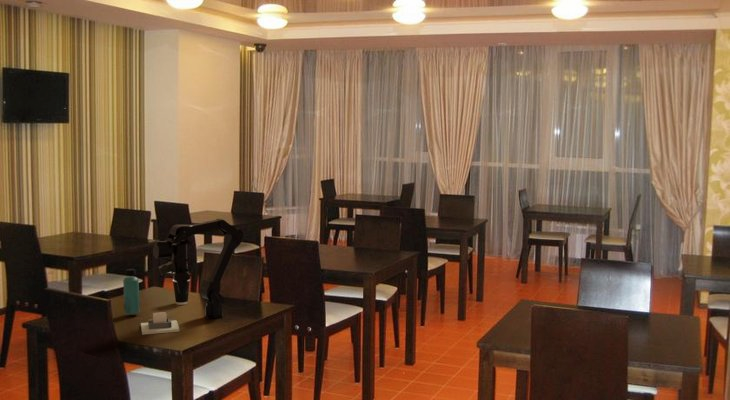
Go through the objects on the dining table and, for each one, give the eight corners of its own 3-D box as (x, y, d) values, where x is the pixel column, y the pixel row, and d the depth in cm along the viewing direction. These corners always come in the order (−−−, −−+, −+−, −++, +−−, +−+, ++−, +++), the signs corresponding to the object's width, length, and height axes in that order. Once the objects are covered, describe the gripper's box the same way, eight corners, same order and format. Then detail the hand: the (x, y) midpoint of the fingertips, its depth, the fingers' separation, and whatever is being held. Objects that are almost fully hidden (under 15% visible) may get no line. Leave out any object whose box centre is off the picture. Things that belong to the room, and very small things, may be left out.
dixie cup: (170, 302, 343) (170, 278, 342) (188, 300, 347) (187, 277, 346) (175, 306, 336) (174, 282, 335) (193, 304, 340) (192, 280, 339)
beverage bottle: (143, 315, 320) (141, 269, 318) (128, 318, 315) (127, 271, 313) (135, 312, 324) (133, 267, 322) (121, 315, 319) (119, 269, 317)
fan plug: (166, 324, 302) (165, 312, 301) (166, 326, 298) (166, 314, 297) (150, 325, 300) (150, 313, 299) (150, 328, 296) (150, 315, 295)
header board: (176, 322, 308) (176, 315, 308) (179, 331, 295) (179, 324, 294) (140, 325, 303) (140, 318, 303) (142, 334, 290) (142, 327, 290)
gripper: (158, 253, 312) (159, 290, 314) (160, 260, 294) (161, 299, 296) (185, 251, 316) (186, 288, 317) (189, 259, 298) (190, 297, 299)
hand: (180, 293), depth 307 cm, fingers closed
